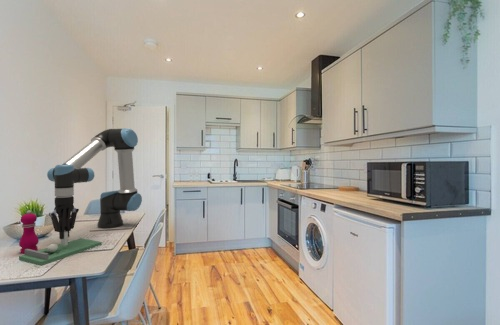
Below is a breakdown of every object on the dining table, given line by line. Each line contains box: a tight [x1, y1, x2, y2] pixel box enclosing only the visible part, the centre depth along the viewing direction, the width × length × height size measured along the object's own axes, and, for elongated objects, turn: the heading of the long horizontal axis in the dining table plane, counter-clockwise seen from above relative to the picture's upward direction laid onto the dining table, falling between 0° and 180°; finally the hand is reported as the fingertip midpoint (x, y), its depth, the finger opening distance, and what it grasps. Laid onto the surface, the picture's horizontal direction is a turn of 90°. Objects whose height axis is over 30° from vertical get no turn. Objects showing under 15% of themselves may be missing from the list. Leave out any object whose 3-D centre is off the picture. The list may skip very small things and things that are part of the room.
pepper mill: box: [18, 209, 40, 255], centre depth 125 cm, size 7×7×20 cm
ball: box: [46, 243, 58, 253], centre depth 120 cm, size 4×4×4 cm
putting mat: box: [18, 238, 102, 266], centre depth 125 cm, size 28×16×4 cm, turn 158°
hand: (64, 244), depth 125 cm, fingers closed
